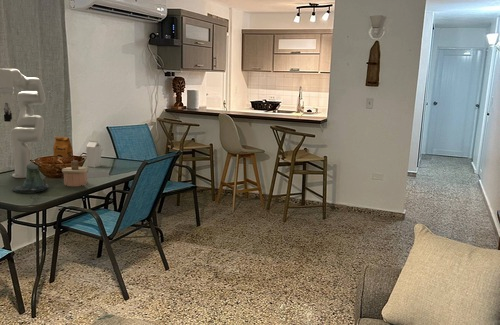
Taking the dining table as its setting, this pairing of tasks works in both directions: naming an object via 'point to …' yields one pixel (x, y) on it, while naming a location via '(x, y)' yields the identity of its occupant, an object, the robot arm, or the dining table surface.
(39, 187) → the tree stump
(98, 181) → the dining table surface
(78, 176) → the bowl
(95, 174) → the mat
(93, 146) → the milk carton
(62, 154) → the coffee package
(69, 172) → the lid
